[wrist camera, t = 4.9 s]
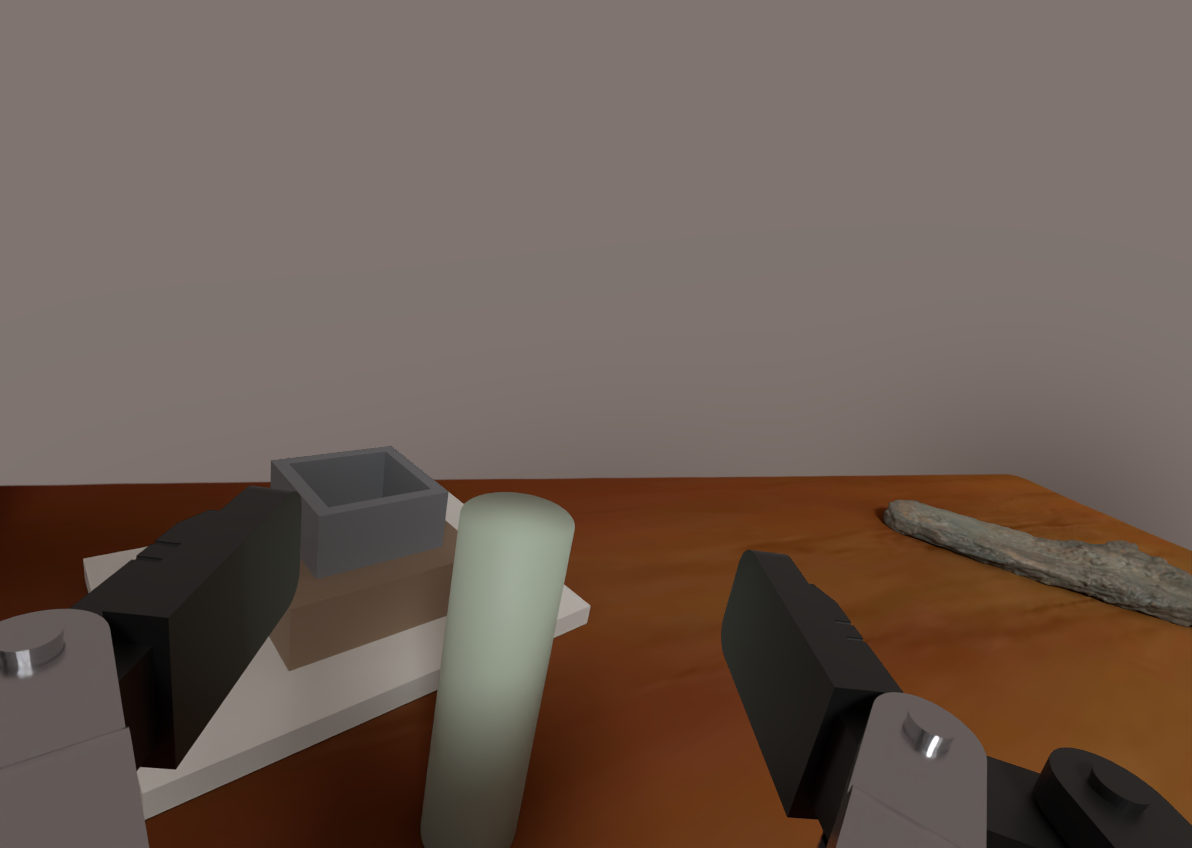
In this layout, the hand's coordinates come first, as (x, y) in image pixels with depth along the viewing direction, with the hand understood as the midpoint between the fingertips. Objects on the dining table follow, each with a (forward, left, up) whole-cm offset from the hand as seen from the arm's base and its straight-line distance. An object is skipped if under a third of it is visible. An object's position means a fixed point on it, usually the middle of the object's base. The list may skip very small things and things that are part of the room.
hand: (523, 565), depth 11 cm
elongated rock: (+75, -3, -21) cm, 79 cm away
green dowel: (+7, +9, -21) cm, 24 cm away
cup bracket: (+9, +27, -21) cm, 35 cm away
